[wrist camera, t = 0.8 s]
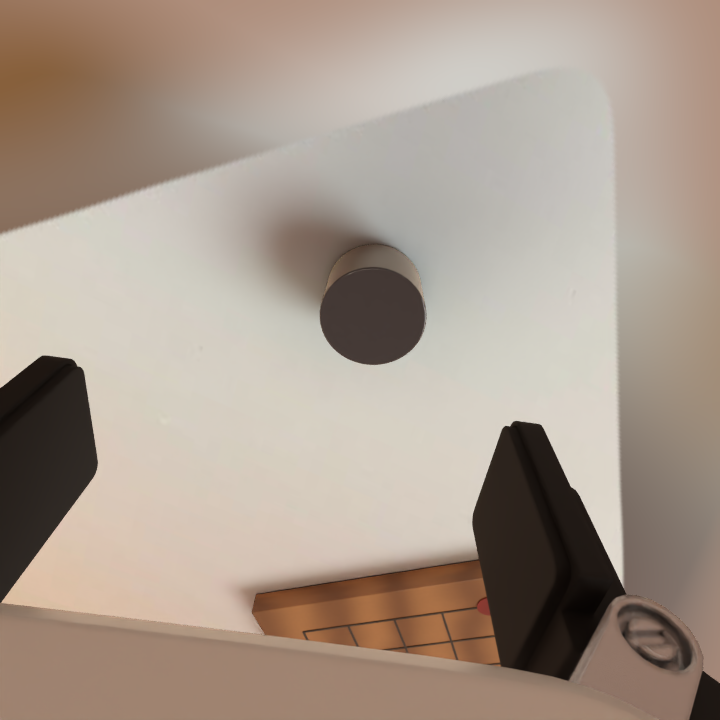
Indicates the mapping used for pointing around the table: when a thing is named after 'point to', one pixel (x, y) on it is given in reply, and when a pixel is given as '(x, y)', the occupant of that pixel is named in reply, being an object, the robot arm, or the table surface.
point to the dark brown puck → (373, 305)
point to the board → (391, 613)
